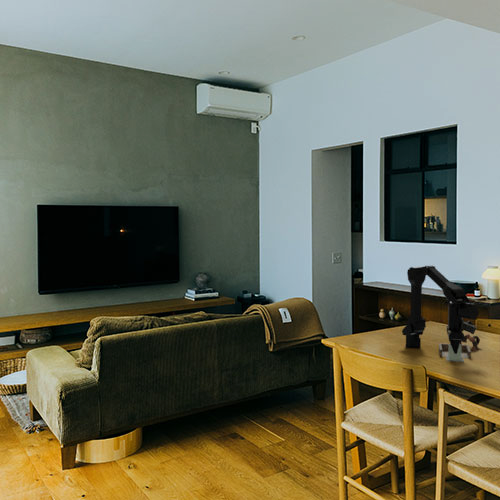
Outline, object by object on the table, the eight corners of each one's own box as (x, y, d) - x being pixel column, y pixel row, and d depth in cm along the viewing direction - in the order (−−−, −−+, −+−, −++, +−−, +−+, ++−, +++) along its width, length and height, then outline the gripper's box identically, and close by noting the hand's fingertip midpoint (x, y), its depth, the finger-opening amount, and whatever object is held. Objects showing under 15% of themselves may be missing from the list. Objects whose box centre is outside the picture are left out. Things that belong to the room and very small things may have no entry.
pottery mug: (470, 353, 241) (461, 337, 243) (458, 358, 249) (449, 342, 251) (488, 344, 245) (479, 328, 248) (475, 349, 254) (466, 334, 256)
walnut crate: (439, 357, 233) (439, 349, 233) (438, 350, 246) (438, 343, 246) (470, 359, 229) (470, 351, 229) (468, 352, 242) (468, 345, 242)
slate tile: (446, 361, 226) (446, 360, 226) (445, 357, 232) (445, 356, 232) (463, 362, 223) (463, 361, 223) (462, 358, 230) (462, 357, 230)
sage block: (448, 359, 226) (449, 346, 226) (448, 357, 231) (448, 343, 231) (461, 360, 225) (461, 347, 224) (460, 357, 229) (460, 344, 229)
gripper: (477, 320, 215) (476, 357, 216) (472, 313, 233) (472, 347, 234) (448, 319, 219) (448, 355, 220) (446, 312, 237) (446, 345, 237)
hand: (454, 351), depth 228 cm, fingers open, 9 cm apart
